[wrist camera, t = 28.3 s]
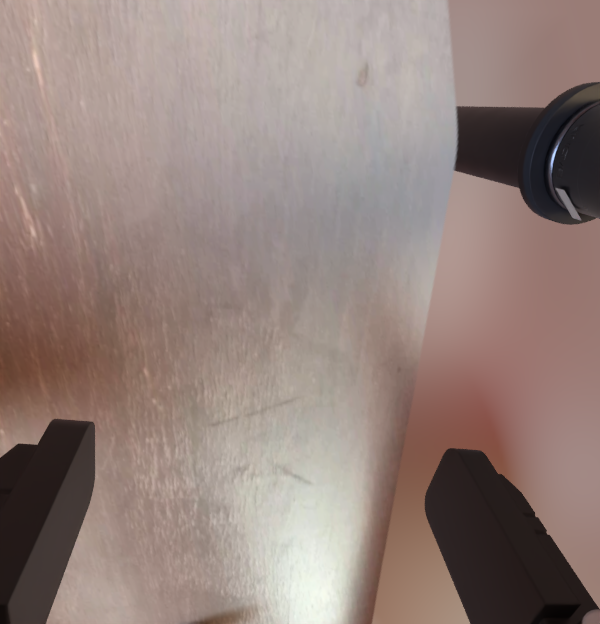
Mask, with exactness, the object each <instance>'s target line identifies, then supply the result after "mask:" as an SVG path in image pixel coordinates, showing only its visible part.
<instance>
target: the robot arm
mask: <svg viewBox="0 0 600 624" xmlns="http://www.w3.org/2000/svg"><path fill="white" fill-rule="evenodd" d="M543 176H544V184H545V188H546V191H547V193H548V195H549V197H550V199H551V200H552V201H553V202H554V203H555V204H556V205H557V206H559V207H560V208H562V209H565V210H568V211H569V212H570V214H571V216H572V217H573V218H575V219H578V220H581V219H580V217H579V215H578V213H582V214H586V215H589V216H593V217H596V218H599V219H600V100H596V101H593V102H590V103H588V104H586V105H584V106H582V107H581V108H579V109H578V110H577V111H575V112H574V113H573V114H572V115H571V116H569V117H568V119H567V120H566V121H565V122H564V123H563V124H562V125H561V127H560V128H559V129H558V131H557V132H556V134H555V136H554V137H553V139H552V141H551V143H550V146H549V148H548V151H547V154H546V158H545V163H544V173H543ZM581 221H582V220H581ZM94 480H95V425H94V423H93V422H88V421H75V420H62V419H54V420H52V421H51V422H50V424H49V425H48V427H47V429H46V431H45V432H44V434H43V436H42V438H41V440H40V441H39V443H38V445H31V444H17V445H16V446H15V447H13V448H12V449H11V450H10V451H8V452H7V453H6V454H5V455H3V456H2V457H1V458H0V624H46V621H47V618H48V616H49V613H50V610H51V607H52V605H53V602H54V599H55V597H56V594H57V591H58V588H59V586H60V583H61V580H62V577H63V575H64V572H65V569H66V567H67V564H68V561H69V558H70V556H71V553H72V550H73V547H74V545H75V542H76V539H77V537H78V534H79V531H80V528H81V526H82V523H83V520H84V517H85V515H86V512H87V509H88V506H89V503H90V500H91V496H92V492H93V487H94ZM425 512H426V516H427V519H428V522H429V524H430V527H431V529H432V532H433V534H434V536H435V539H436V541H437V544H438V546H439V549H440V551H441V553H442V556H443V558H444V561H445V563H446V566H447V568H448V570H449V573H450V575H451V578H452V580H453V582H454V585H455V587H456V590H457V592H458V594H459V597H460V599H461V602H462V604H463V607H464V609H465V611H466V614H467V616H468V619H469V621H470V624H600V609H599V608H598V606H597V605H596V603H595V602H594V601H593V599H592V598H591V596H590V595H589V593H588V592H587V590H586V589H585V587H584V586H583V584H582V583H581V581H580V580H579V578H578V577H577V575H576V574H575V572H574V571H573V569H572V568H571V566H570V565H569V563H568V562H567V560H566V559H565V557H564V556H563V554H562V553H561V551H560V550H559V548H558V547H557V545H556V544H555V542H554V541H553V539H552V538H551V536H550V535H547V533H546V531H547V530H546V529H545V527H544V526H543V524H542V523H541V521H540V520H539V518H538V517H535V512H534V511H533V509H532V508H531V506H530V505H529V503H528V502H527V500H526V499H525V497H524V496H523V494H522V493H521V492H520V491H519V490H518V489H517V488H516V487H515V486H514V485H513V484H512V483H511V482H509V481H508V480H507V479H506V478H505V477H504V476H503V475H502V474H498V473H497V472H496V470H495V469H494V467H493V465H492V464H491V462H490V461H489V459H488V458H487V456H486V455H485V454H484V453H483V452H482V451H478V450H467V449H454V448H450V449H448V450H447V451H446V452H445V453H444V455H443V457H442V459H441V461H440V464H439V466H438V468H437V470H436V472H435V474H434V476H433V479H432V481H431V483H430V485H429V487H428V490H427V492H426V496H425Z"/></svg>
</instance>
